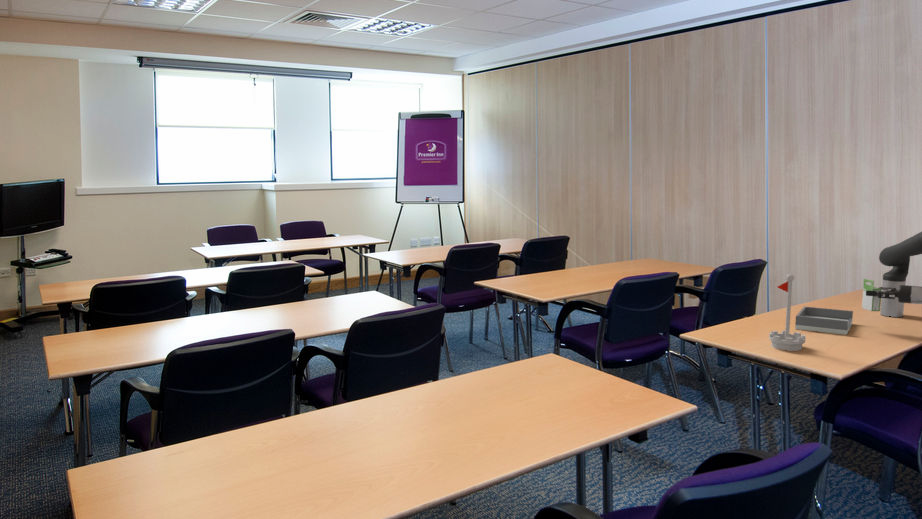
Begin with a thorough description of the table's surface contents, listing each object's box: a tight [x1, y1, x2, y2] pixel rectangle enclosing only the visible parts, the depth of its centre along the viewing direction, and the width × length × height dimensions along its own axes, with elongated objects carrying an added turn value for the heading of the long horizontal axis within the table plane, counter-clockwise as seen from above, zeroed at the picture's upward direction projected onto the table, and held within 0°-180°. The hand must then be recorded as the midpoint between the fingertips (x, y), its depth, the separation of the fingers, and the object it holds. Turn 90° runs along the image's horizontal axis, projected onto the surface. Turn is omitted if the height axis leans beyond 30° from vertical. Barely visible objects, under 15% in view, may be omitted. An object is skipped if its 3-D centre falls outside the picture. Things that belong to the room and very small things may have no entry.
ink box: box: [861, 278, 882, 312], centre depth 278 cm, size 7×4×13 cm, turn 179°
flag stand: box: [768, 273, 806, 352], centre depth 256 cm, size 13×13×30 cm
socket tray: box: [794, 306, 854, 336], centre depth 290 cm, size 24×20×6 cm
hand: (866, 291), depth 279 cm, fingers closed on ink box, 8 cm apart
